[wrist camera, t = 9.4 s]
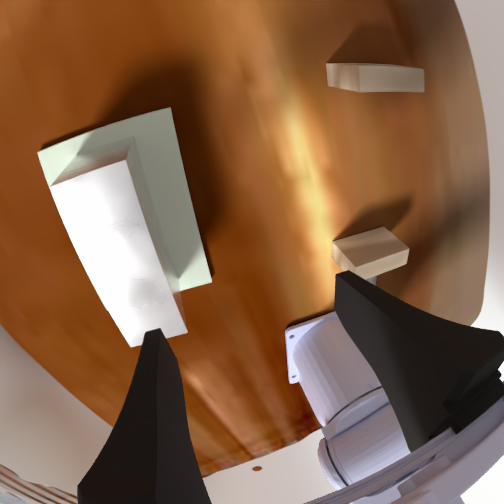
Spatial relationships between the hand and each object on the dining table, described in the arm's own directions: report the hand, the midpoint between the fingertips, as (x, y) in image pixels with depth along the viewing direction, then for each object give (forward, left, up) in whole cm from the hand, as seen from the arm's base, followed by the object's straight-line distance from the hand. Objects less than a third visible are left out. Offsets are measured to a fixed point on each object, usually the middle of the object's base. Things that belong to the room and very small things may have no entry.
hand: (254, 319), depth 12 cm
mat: (+1, +5, -9) cm, 11 cm away
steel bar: (+1, +5, -9) cm, 10 cm away
